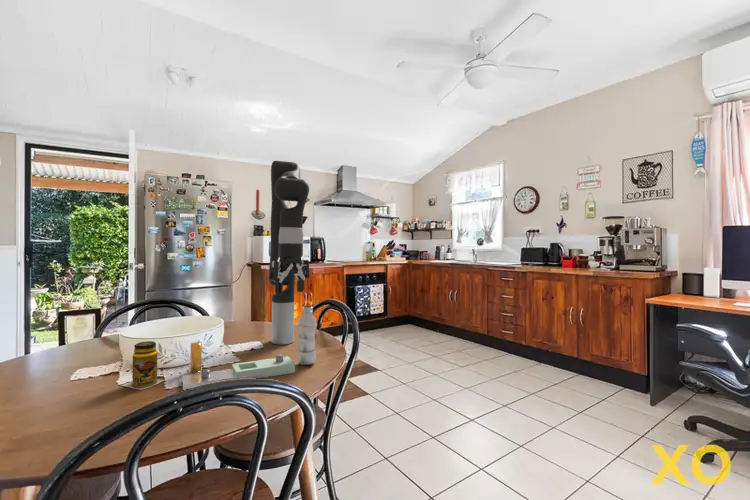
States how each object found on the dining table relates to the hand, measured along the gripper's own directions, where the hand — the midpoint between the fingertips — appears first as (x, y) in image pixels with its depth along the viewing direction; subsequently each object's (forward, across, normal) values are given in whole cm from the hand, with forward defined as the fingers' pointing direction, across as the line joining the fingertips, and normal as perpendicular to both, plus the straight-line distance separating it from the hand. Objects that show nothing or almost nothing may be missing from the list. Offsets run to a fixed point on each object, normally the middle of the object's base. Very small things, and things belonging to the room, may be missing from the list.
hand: (289, 293), depth 111 cm
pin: (+26, +16, -25) cm, 40 cm away
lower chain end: (+26, +15, -12) cm, 32 cm away
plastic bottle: (+26, -11, -3) cm, 29 cm away
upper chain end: (+26, +4, -7) cm, 27 cm away
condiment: (+26, +31, -28) cm, 49 cm away
